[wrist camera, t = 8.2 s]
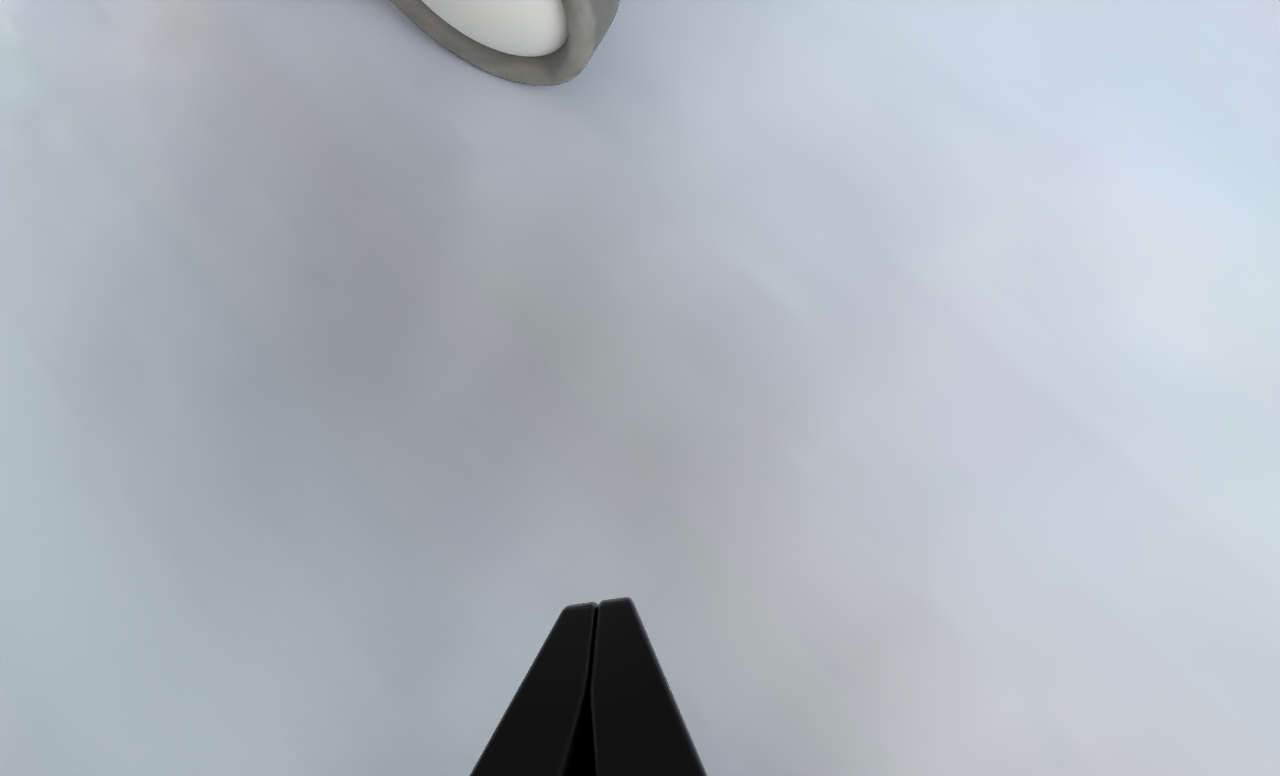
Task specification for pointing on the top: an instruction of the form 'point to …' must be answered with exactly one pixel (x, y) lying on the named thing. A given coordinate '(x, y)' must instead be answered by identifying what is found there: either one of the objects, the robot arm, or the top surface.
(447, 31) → the pipe fitting
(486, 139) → the top surface
